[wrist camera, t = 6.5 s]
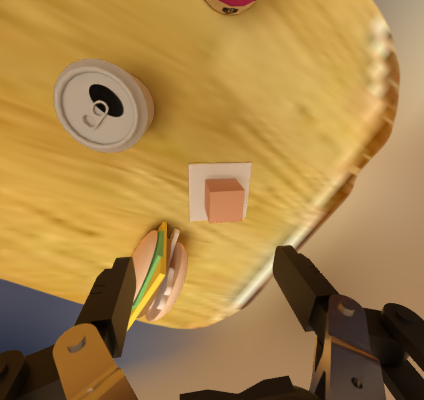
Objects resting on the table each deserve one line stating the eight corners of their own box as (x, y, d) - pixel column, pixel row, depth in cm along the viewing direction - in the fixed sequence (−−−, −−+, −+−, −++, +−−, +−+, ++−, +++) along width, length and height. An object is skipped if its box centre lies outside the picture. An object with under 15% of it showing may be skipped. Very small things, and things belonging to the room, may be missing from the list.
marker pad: (188, 163, 32) (188, 164, 32) (250, 162, 34) (251, 163, 33) (189, 219, 36) (189, 221, 36) (244, 216, 38) (245, 217, 38)
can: (166, 106, 28) (164, 111, 18) (131, 147, 30) (110, 174, 19) (117, 57, 25) (79, 26, 14) (81, 105, 26) (21, 110, 16)
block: (204, 179, 33) (210, 192, 29) (235, 178, 34) (245, 190, 30) (204, 207, 35) (209, 223, 31) (233, 205, 36) (242, 221, 32)
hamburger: (161, 280, 41) (159, 343, 30) (120, 266, 38) (100, 332, 27) (193, 234, 38) (202, 287, 27) (150, 215, 35) (142, 267, 24)
